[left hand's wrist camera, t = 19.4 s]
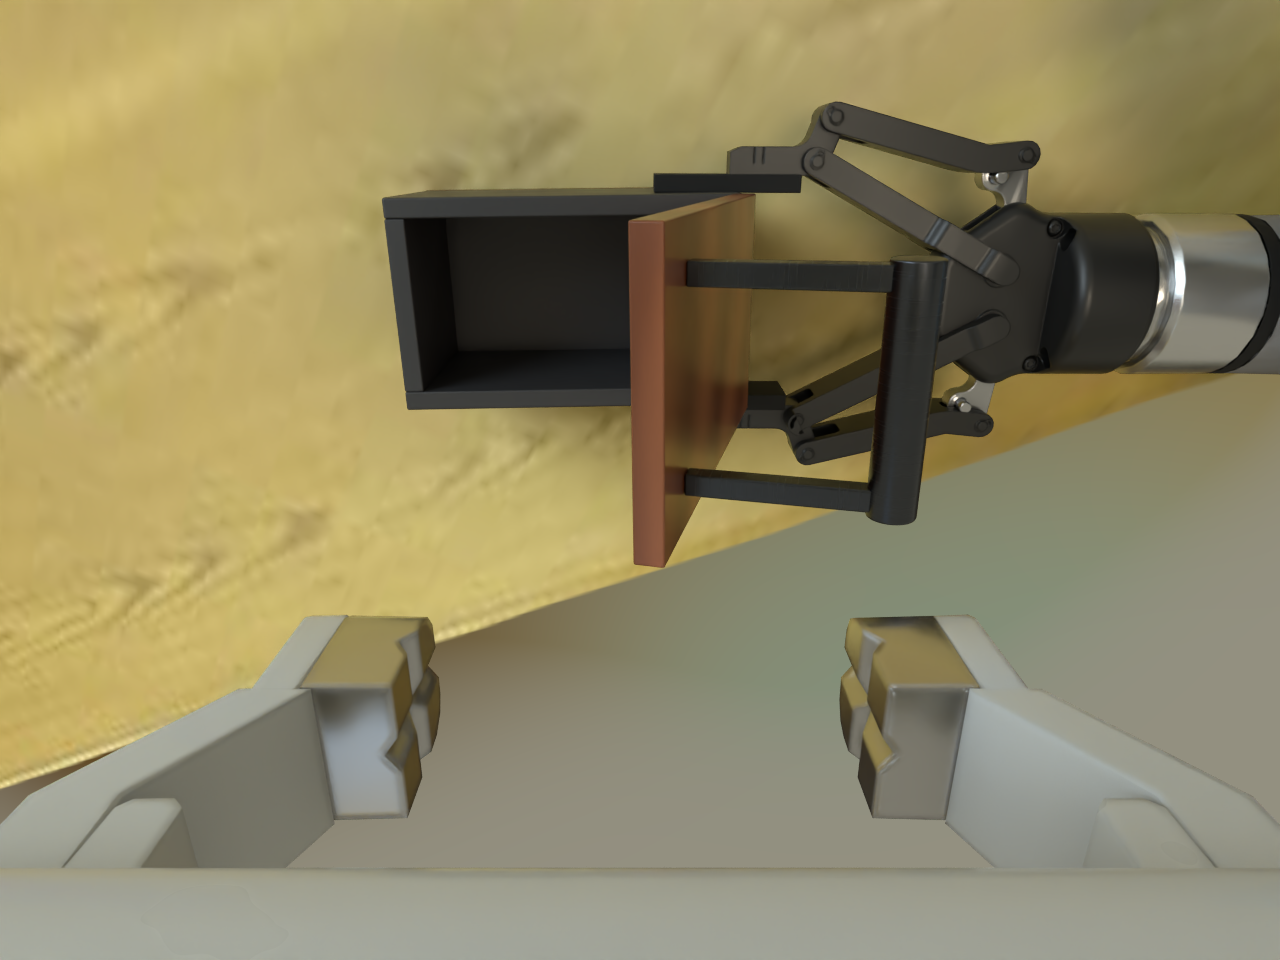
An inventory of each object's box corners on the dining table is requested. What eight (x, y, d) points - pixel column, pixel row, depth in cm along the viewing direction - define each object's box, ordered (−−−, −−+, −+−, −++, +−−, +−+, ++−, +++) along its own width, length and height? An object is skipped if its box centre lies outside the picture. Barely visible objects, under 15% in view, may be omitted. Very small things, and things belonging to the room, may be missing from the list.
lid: (632, 565, 23) (916, 598, 21) (627, 220, 19) (965, 221, 17) (727, 406, 37) (899, 417, 35) (734, 193, 34) (925, 193, 32)
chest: (447, 363, 46) (407, 410, 37) (429, 190, 43) (380, 197, 34) (713, 358, 46) (736, 404, 38) (717, 186, 43) (743, 192, 34)
